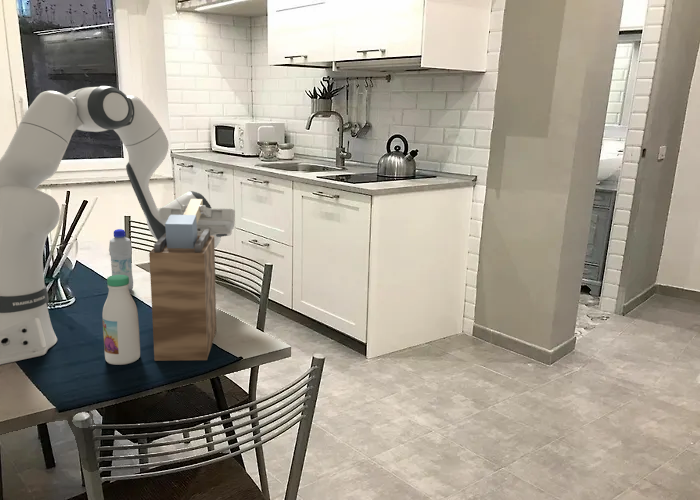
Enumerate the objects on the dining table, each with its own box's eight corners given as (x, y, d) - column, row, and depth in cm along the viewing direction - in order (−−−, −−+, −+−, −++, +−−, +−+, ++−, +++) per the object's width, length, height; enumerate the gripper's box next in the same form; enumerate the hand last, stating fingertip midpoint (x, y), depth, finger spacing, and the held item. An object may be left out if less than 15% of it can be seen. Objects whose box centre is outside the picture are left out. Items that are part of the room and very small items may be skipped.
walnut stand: (206, 360, 137) (204, 245, 130) (154, 360, 135) (148, 244, 129) (216, 331, 154) (214, 228, 147) (169, 331, 153) (165, 228, 146)
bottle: (107, 291, 182) (103, 229, 178) (127, 286, 187) (124, 226, 183) (118, 296, 178) (114, 232, 173) (138, 291, 183) (135, 229, 178)
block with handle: (193, 248, 134) (192, 224, 132) (167, 248, 134) (165, 223, 131) (208, 209, 158) (207, 188, 156) (186, 209, 157) (184, 188, 155)
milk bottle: (138, 349, 141) (133, 270, 136) (142, 362, 134) (138, 279, 129) (103, 354, 137) (97, 274, 133) (106, 368, 131) (100, 283, 126)
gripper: (164, 213, 165) (153, 195, 151) (237, 214, 167) (233, 197, 154) (162, 234, 163) (151, 218, 150) (236, 235, 165) (232, 220, 152)
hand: (193, 207), depth 152 cm, fingers closed on block with handle, 3 cm apart
